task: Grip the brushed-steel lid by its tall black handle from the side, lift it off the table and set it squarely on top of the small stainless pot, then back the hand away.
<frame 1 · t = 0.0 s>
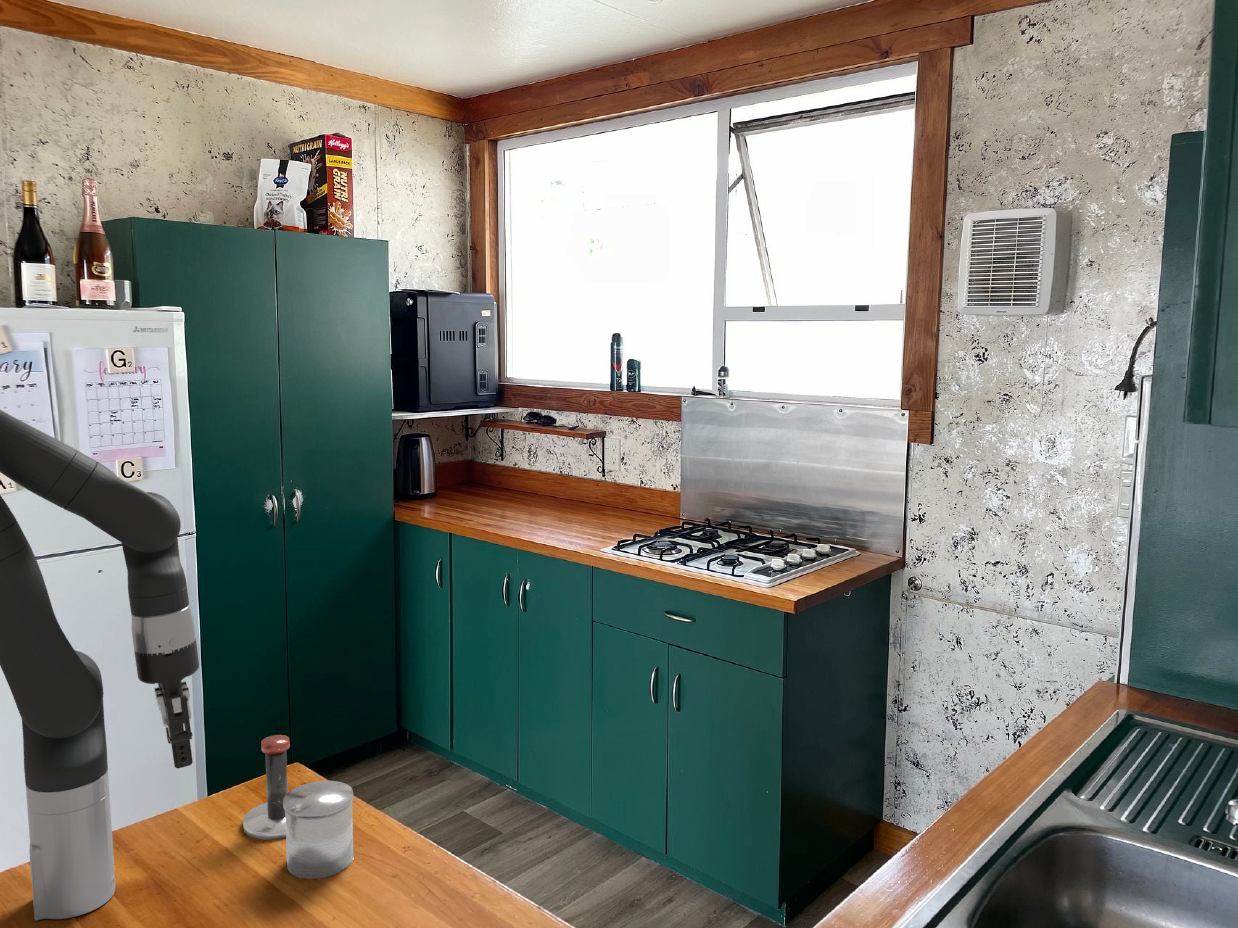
hand: (180, 753, 128), 17 cm above the countertop, tool pointing down, fingers open, 8 cm apart
lid: (278, 822, 143), on the countertop
pot: (320, 860, 132), on the countertop
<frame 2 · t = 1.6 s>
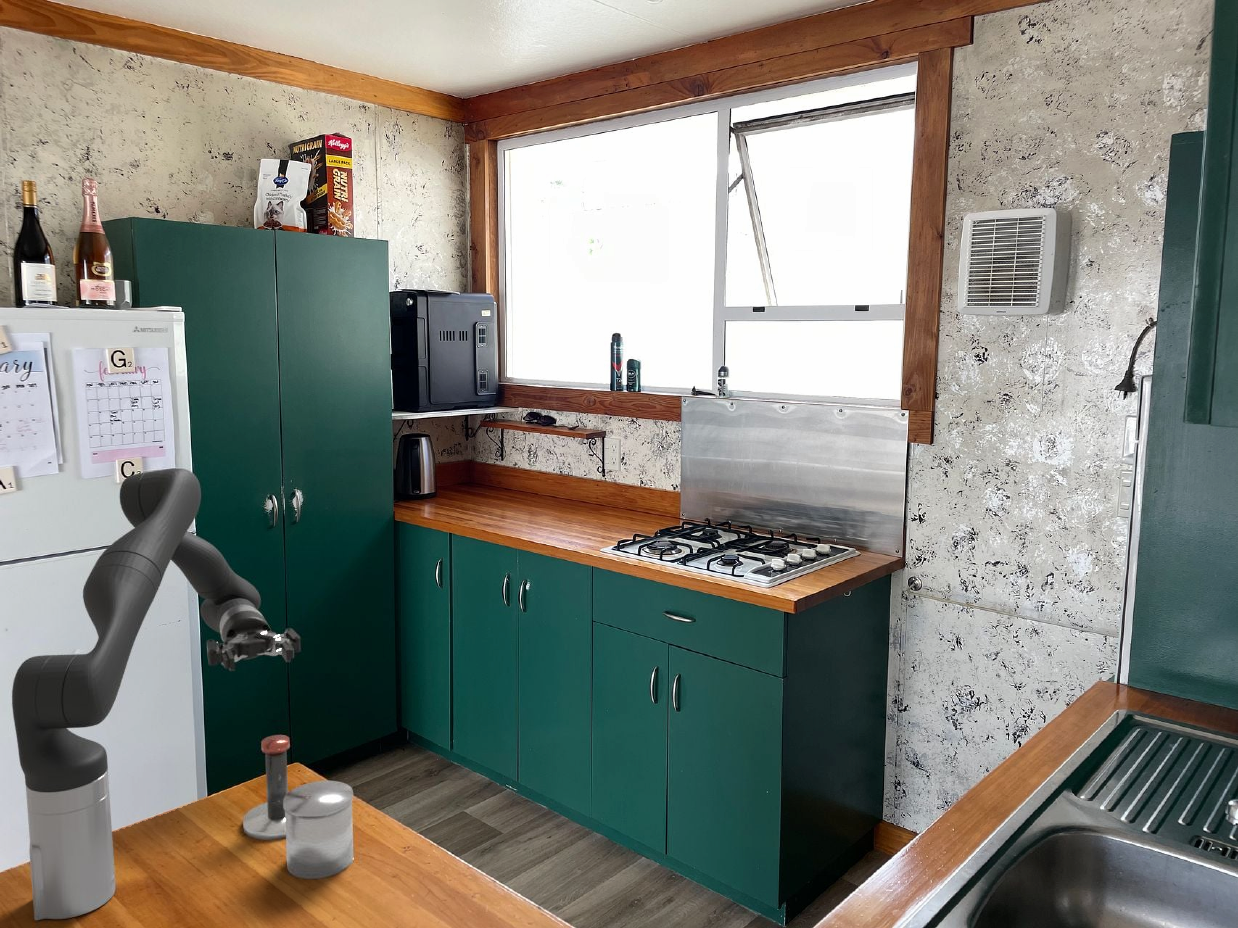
hand: (261, 660, 149), 22 cm above the countertop, tool horizontal, fingers open, 8 cm apart
nothing on the countertop moved.
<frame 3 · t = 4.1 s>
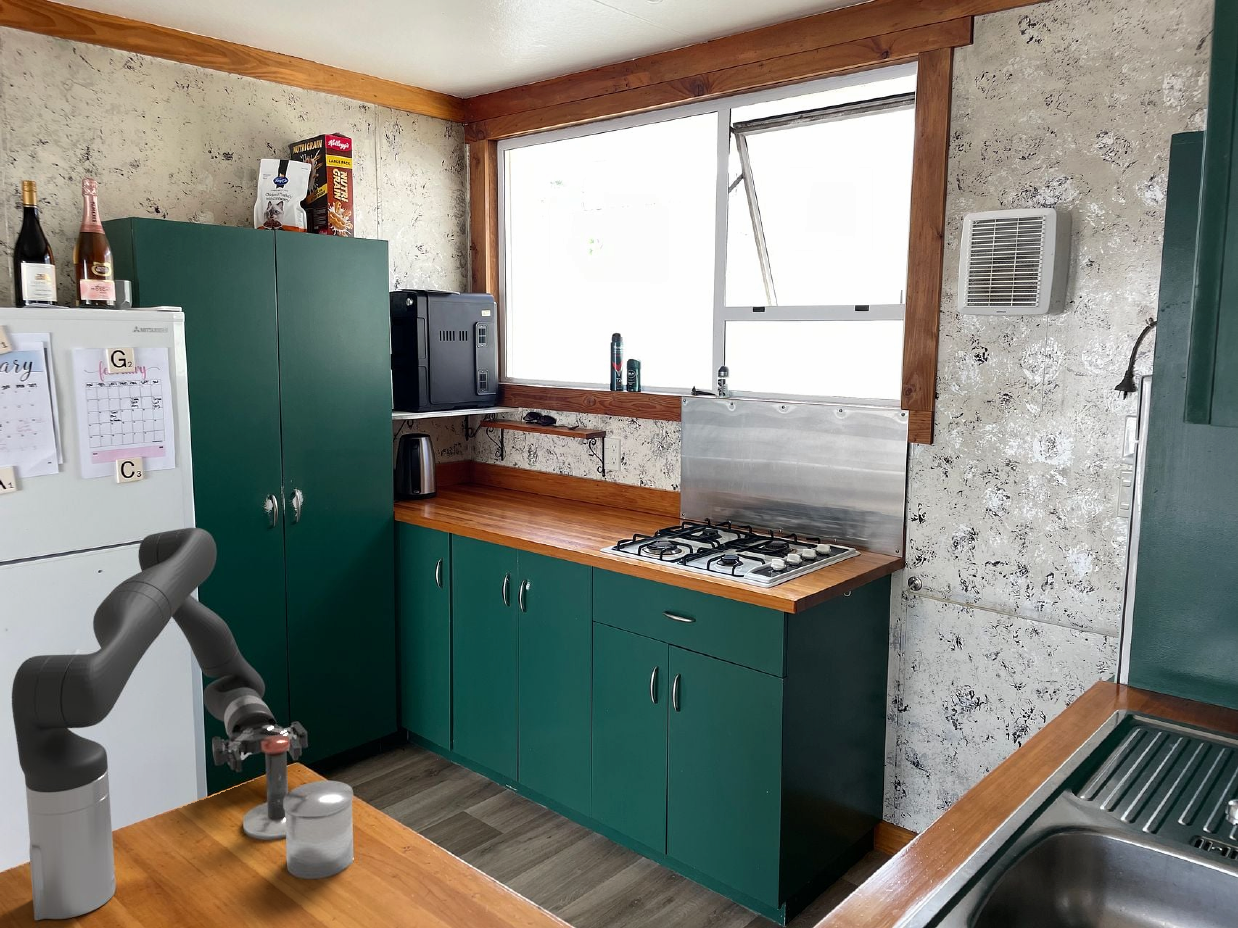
hand: (268, 760, 147), 7 cm above the countertop, tool horizontal, fingers open, 8 cm apart
nothing on the countertop moved.
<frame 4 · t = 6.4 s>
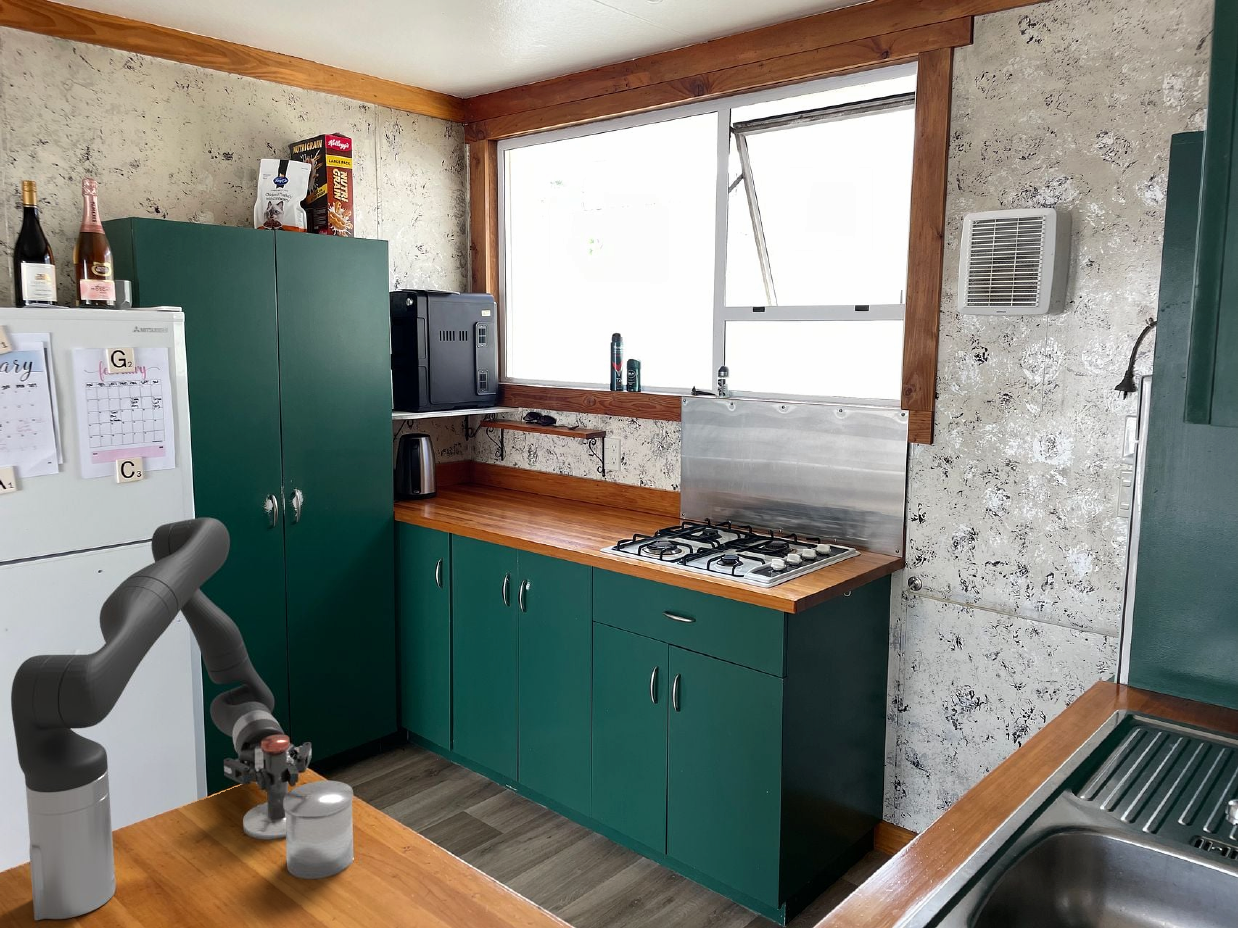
hand: (280, 782, 139), 8 cm above the countertop, tool horizontal, fingers closed on lid, 3 cm apart
lid: (278, 821, 143), on the countertop, touching gripper
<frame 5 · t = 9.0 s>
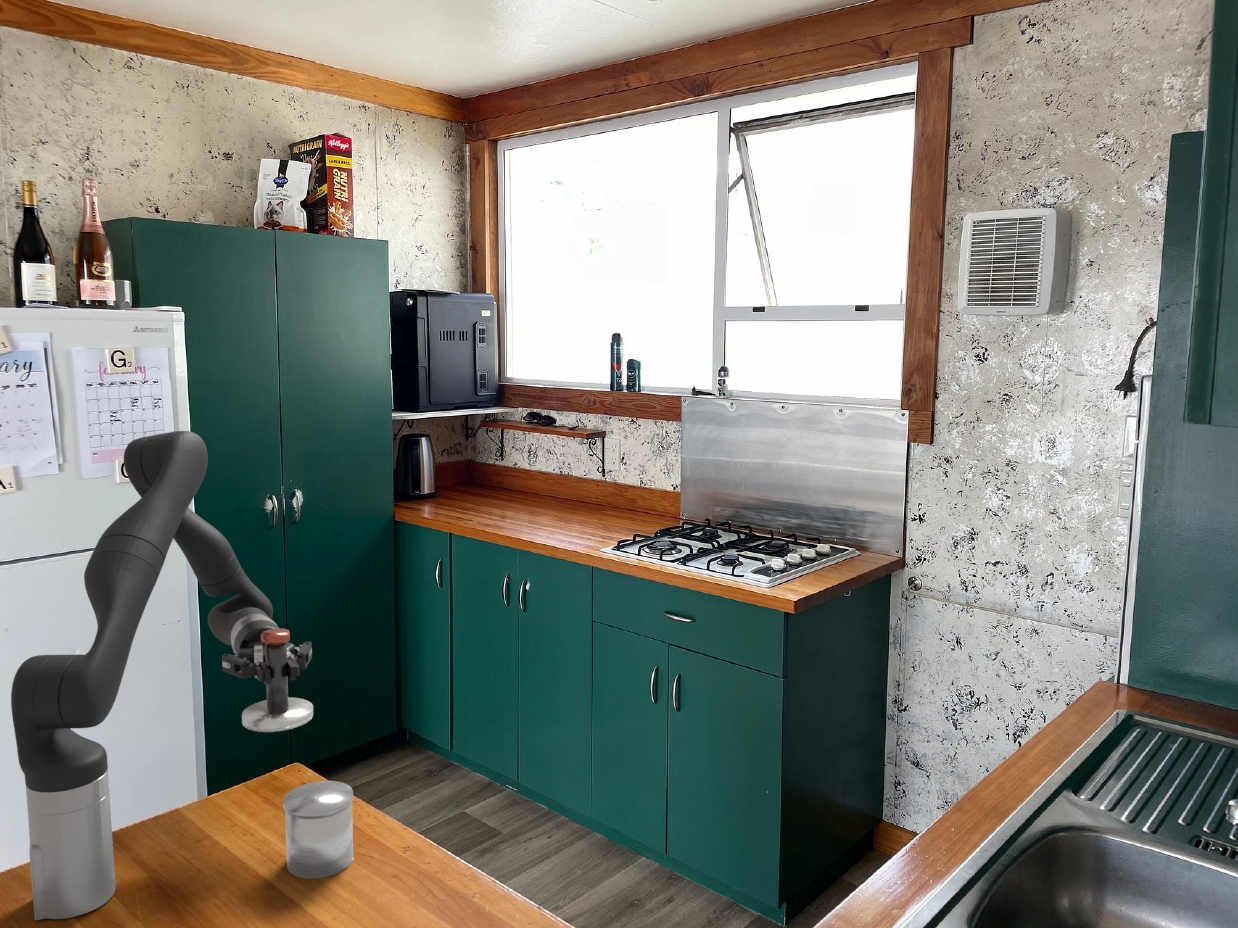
hand: (280, 675, 136), 25 cm above the countertop, tool horizontal, fingers closed on lid, 3 cm apart
lid: (278, 717, 139), point 17 cm above the countertop, touching gripper
when the fingers open (18 cm above the countertop, at t = 11.5 s): lid drops 1 cm, resting on pot.
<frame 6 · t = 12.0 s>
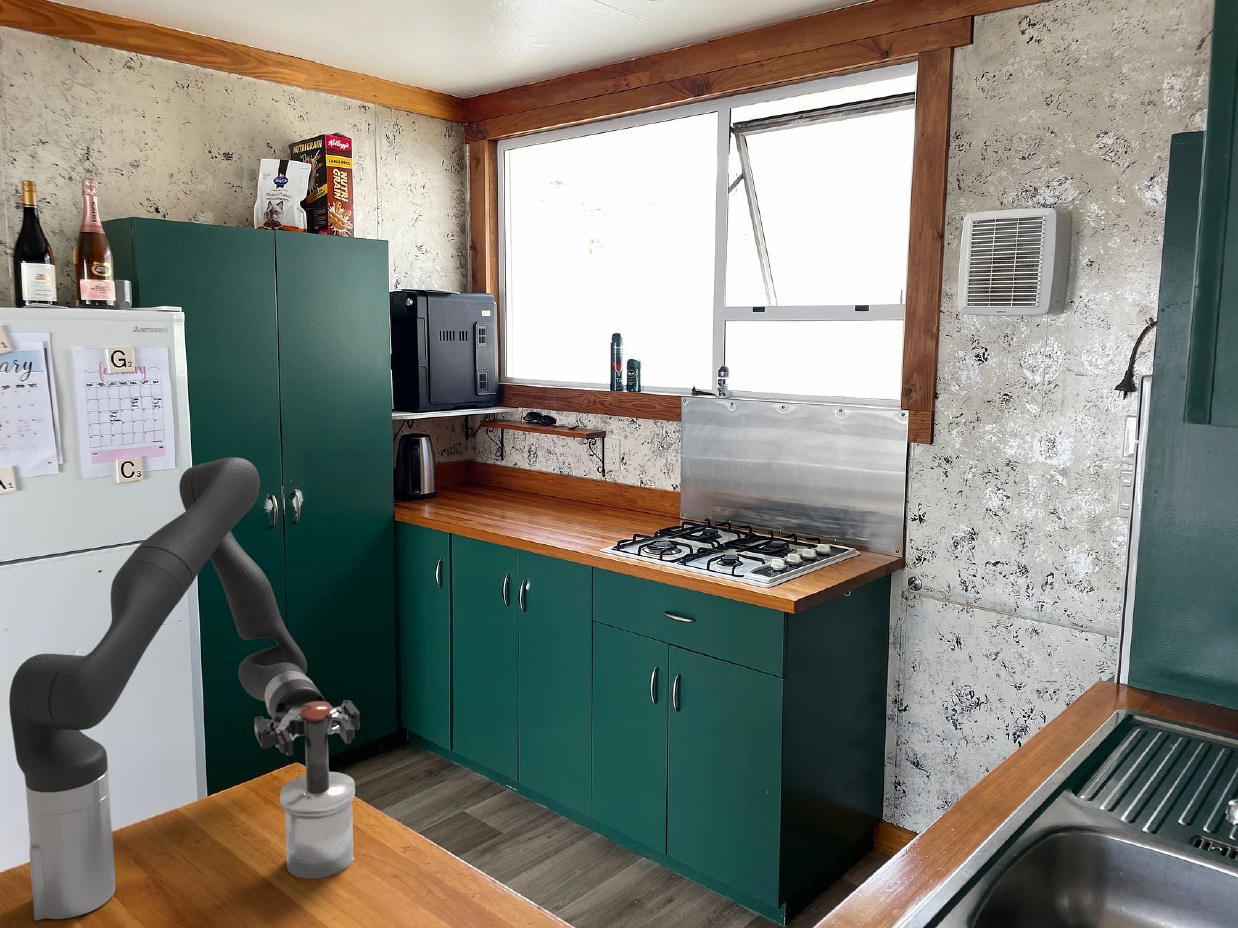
hand: (320, 742, 128), 18 cm above the countertop, tool horizontal, fingers open, 7 cm apart
lid: (318, 796, 131), point 10 cm above the countertop, touching pot
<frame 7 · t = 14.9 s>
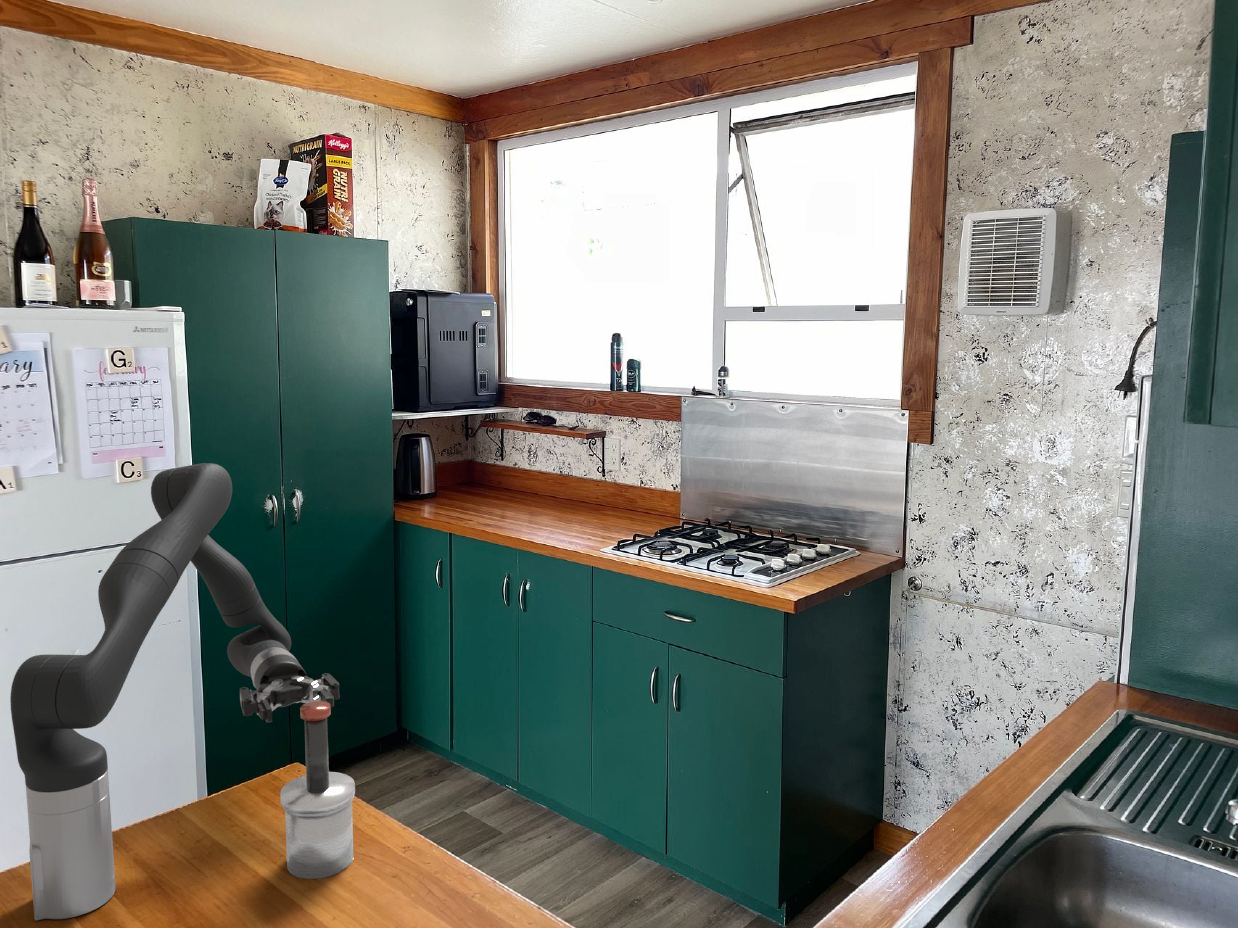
hand: (299, 710, 139), 19 cm above the countertop, tool horizontal, fingers open, 8 cm apart
nothing on the countertop moved.
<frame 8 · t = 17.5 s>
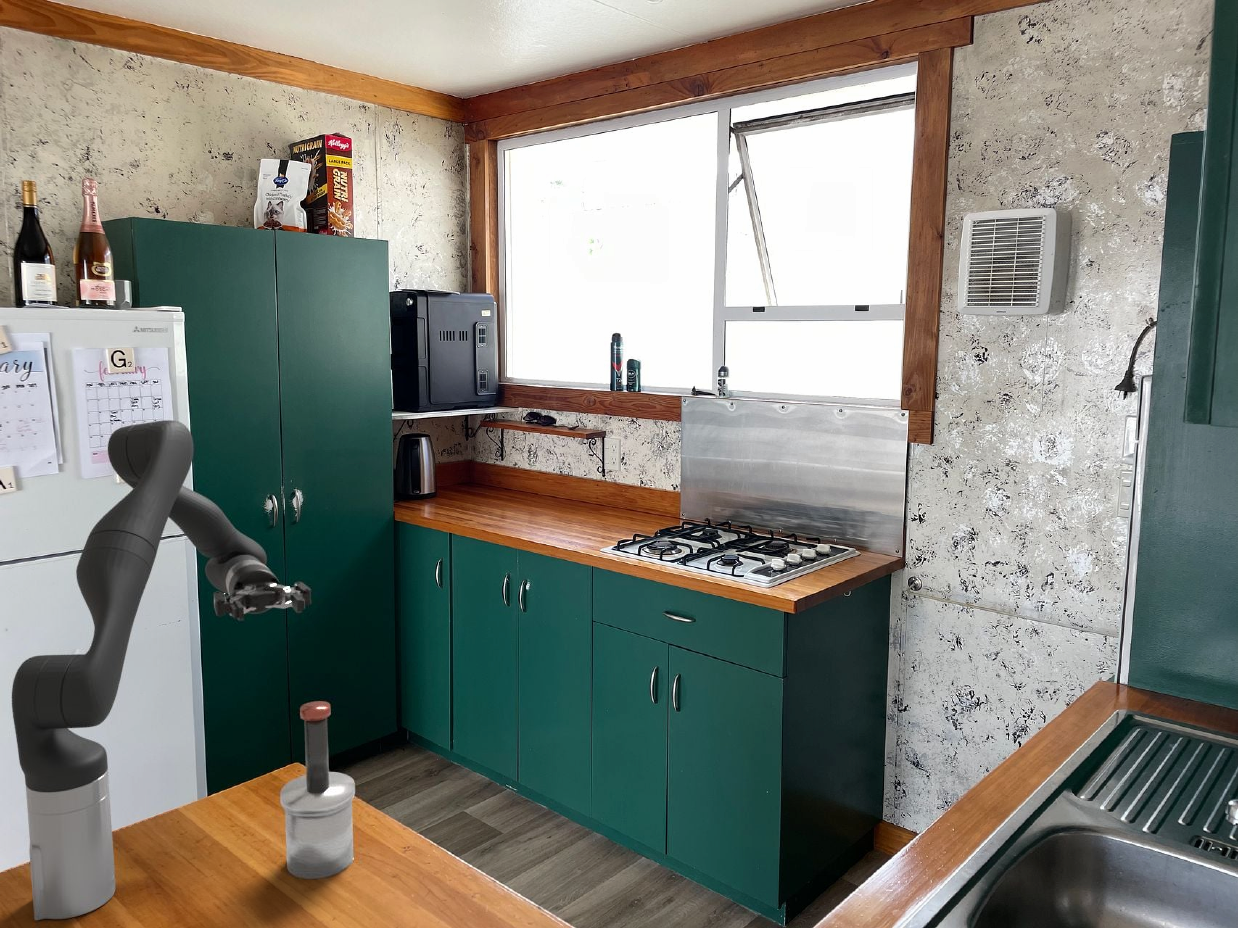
hand: (271, 610, 143), 32 cm above the countertop, tool horizontal, fingers open, 8 cm apart
nothing on the countertop moved.
at the end: lid 0.1 cm off-centre on the pot, point 9.7 cm above the pot's base; lid tilted 0°; the gripper is holding nothing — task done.
